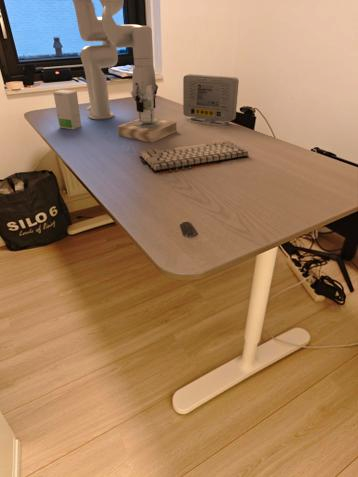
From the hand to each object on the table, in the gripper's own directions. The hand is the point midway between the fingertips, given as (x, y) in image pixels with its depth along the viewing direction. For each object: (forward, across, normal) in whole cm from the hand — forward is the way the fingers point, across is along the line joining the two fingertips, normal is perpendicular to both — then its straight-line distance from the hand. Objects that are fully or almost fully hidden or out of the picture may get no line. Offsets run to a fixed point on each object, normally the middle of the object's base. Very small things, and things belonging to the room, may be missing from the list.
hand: (146, 109), depth 142 cm
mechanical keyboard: (+11, +14, +33) cm, 37 cm away
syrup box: (+5, 0, 0) cm, 5 cm away
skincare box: (+10, +11, -37) cm, 40 cm away
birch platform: (+10, 0, 0) cm, 10 cm away
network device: (+10, -30, +14) cm, 35 cm away
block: (+10, +57, +57) cm, 81 cm away
